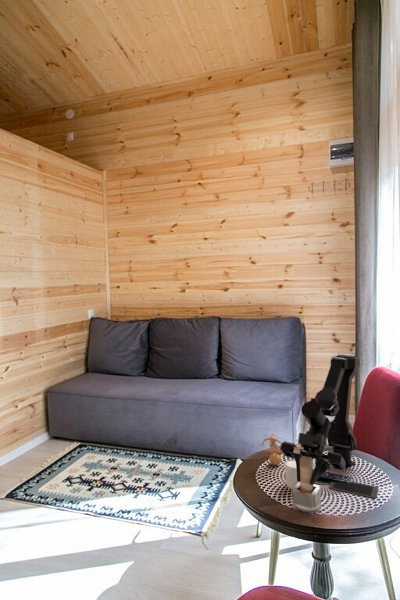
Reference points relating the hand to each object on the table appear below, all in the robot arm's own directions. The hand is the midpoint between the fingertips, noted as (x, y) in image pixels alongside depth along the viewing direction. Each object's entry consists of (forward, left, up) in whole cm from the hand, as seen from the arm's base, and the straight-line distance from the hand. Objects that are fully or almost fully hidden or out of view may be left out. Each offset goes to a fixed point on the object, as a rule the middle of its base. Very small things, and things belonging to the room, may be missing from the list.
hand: (304, 483), depth 119 cm
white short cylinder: (-8, -10, -7) cm, 15 cm away
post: (-1, 0, -6) cm, 6 cm away
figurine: (-12, -24, -7) cm, 28 cm away
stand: (-1, 0, -7) cm, 7 cm away
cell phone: (-20, +2, -8) cm, 22 cm away
